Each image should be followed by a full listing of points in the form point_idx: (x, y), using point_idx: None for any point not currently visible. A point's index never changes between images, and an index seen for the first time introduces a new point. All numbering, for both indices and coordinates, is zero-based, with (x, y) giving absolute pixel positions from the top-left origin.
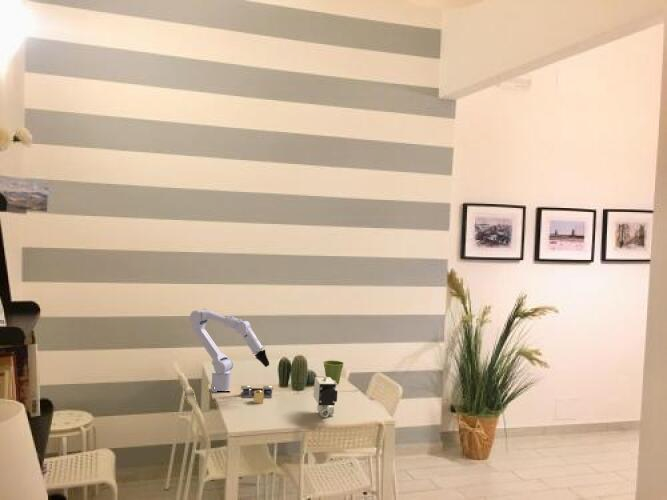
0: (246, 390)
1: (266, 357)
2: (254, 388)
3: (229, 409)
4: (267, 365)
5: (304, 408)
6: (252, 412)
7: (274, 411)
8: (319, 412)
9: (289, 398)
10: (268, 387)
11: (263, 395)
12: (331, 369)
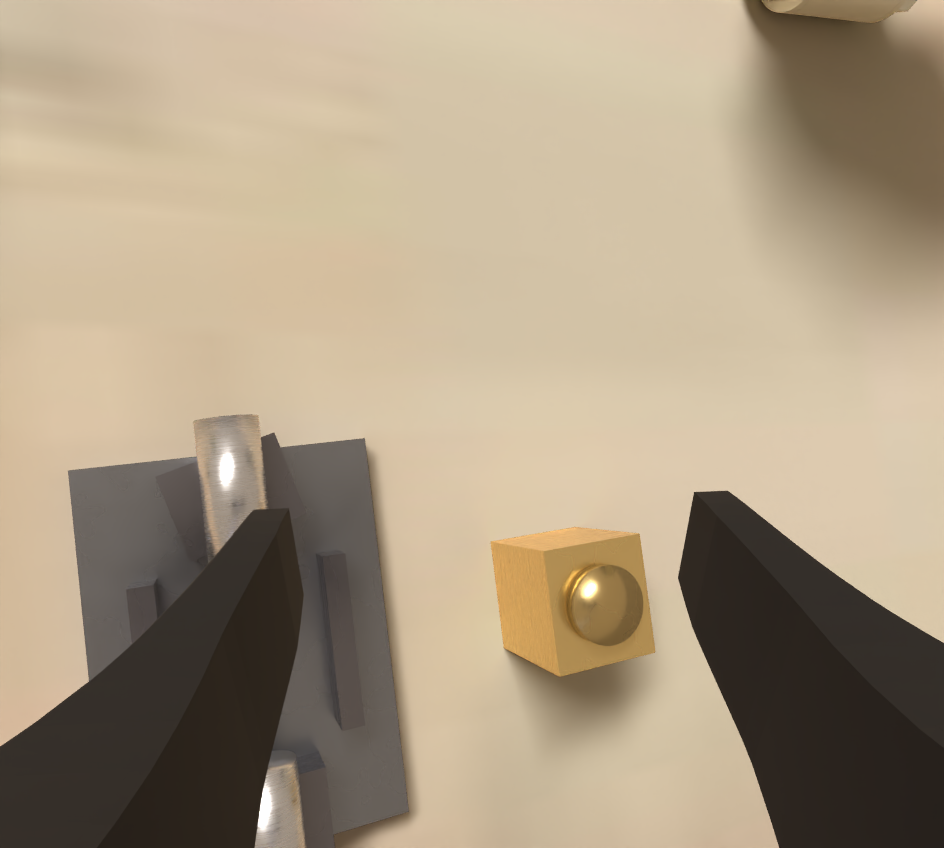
0: (308, 814)
1: (864, 603)
2: None
3: None
4: (294, 556)
5: (667, 115)
6: None
7: (782, 402)
8: (884, 16)
9: (348, 221)
10: (264, 491)
11: (623, 532)
12: None
